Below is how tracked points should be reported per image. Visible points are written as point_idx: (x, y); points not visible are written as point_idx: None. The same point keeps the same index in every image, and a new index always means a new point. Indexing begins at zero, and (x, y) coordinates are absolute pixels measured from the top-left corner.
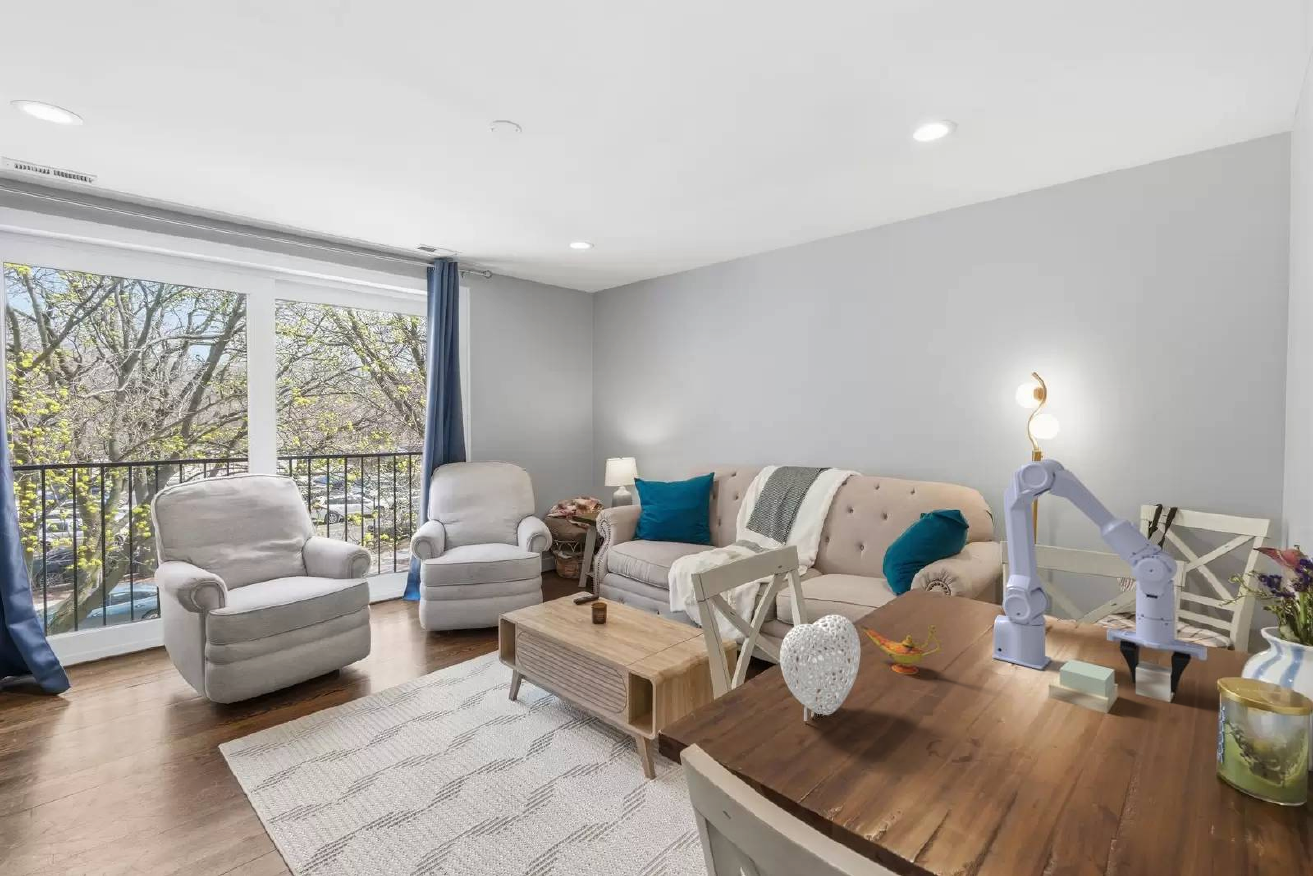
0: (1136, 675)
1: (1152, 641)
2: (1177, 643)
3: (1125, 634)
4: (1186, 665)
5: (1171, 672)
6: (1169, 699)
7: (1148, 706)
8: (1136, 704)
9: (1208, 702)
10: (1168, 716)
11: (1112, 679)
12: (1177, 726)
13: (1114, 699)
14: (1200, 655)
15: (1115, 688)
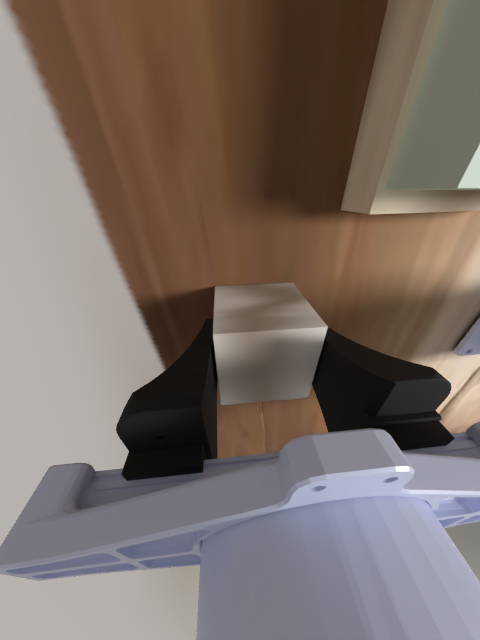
0: (312, 311)
1: (348, 517)
2: (184, 551)
3: (468, 501)
4: (136, 392)
5: (217, 369)
6: (216, 290)
7: (255, 201)
8: (288, 187)
9: (156, 351)
10: (188, 142)
11: (438, 133)
12: (126, 9)
13: (362, 139)
14: (55, 496)
15: (382, 161)
